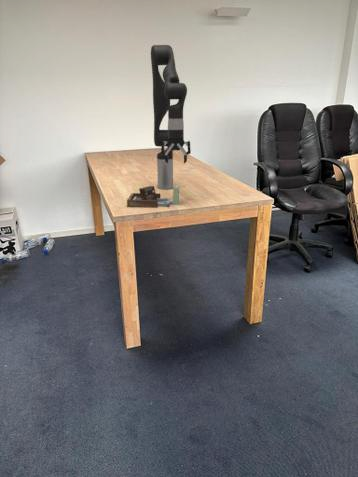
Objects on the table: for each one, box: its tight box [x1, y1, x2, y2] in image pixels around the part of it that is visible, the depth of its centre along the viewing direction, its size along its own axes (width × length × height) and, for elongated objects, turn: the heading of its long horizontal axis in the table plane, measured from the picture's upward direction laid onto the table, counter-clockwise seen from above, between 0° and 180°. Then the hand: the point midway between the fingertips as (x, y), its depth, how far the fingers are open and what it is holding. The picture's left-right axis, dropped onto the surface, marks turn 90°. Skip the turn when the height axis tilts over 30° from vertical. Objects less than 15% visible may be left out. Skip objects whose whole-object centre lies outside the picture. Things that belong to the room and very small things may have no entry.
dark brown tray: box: [126, 192, 162, 209], centre depth 185 cm, size 14×15×4 cm
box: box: [138, 185, 157, 200], centre depth 183 cm, size 6×6×7 cm
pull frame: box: [133, 185, 180, 208], centre depth 183 cm, size 9×24×9 cm, turn 88°
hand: (176, 162), depth 177 cm, fingers open, 8 cm apart
